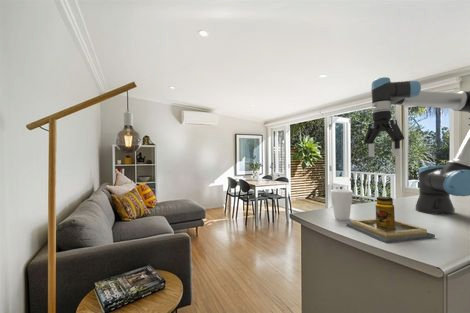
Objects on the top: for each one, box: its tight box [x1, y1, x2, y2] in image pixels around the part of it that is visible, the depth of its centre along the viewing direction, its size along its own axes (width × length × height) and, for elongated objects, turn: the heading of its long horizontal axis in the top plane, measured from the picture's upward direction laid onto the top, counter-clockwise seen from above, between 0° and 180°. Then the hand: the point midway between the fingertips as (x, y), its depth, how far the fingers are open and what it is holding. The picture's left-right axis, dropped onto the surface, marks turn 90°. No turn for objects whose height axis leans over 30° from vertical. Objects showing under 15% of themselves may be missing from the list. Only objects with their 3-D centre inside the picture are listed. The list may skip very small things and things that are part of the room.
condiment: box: [374, 196, 398, 231], centre depth 90 cm, size 7×8×12 cm
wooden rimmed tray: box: [345, 218, 436, 244], centre depth 89 cm, size 20×20×2 cm
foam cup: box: [330, 188, 354, 221], centre depth 109 cm, size 10×9×13 cm
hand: (382, 156), depth 110 cm, fingers open, 13 cm apart
